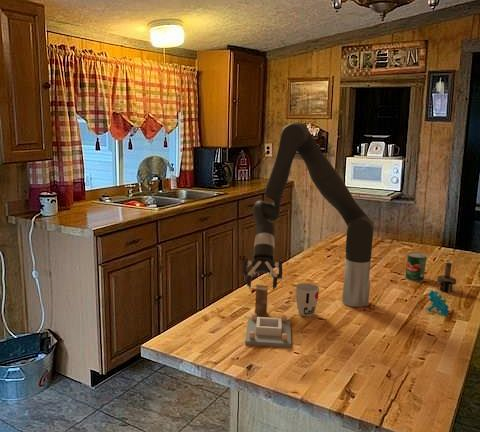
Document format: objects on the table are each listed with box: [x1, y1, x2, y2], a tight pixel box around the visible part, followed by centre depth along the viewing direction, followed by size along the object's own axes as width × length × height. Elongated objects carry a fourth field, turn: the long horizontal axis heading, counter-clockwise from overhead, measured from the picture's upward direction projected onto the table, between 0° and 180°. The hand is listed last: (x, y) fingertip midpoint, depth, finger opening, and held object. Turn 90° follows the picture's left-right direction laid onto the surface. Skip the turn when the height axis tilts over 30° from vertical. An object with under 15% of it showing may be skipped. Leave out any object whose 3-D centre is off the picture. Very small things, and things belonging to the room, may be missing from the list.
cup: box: [295, 282, 320, 317], centre depth 176 cm, size 8×8×10 cm
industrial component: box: [436, 261, 457, 294], centre depth 205 cm, size 9×7×12 cm
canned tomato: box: [404, 251, 427, 283], centre depth 218 cm, size 8×8×11 cm
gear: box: [426, 290, 451, 316], centre depth 183 cm, size 11×6×10 cm
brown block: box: [254, 284, 269, 317], centre depth 175 cm, size 4×4×10 cm
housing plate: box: [244, 313, 292, 348], centre depth 160 cm, size 14×18×4 cm
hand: (261, 287), depth 177 cm, fingers open, 8 cm apart
